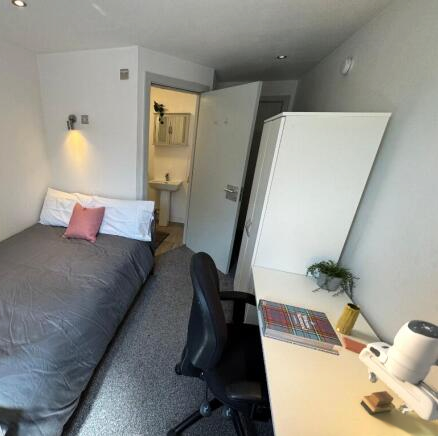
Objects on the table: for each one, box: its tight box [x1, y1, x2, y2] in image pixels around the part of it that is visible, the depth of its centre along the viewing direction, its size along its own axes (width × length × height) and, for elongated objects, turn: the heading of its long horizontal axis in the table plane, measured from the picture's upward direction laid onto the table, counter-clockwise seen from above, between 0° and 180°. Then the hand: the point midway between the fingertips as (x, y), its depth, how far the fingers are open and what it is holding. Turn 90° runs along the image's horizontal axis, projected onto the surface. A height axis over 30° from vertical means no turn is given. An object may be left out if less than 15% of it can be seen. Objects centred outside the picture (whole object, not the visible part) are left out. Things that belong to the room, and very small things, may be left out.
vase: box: [334, 302, 362, 336], centre depth 108 cm, size 6×6×14 cm
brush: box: [359, 390, 396, 416], centre depth 78 cm, size 8×4×6 cm, turn 97°
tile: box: [342, 336, 367, 355], centre depth 101 cm, size 8×6×1 cm
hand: (386, 395), depth 76 cm, fingers open, 8 cm apart
